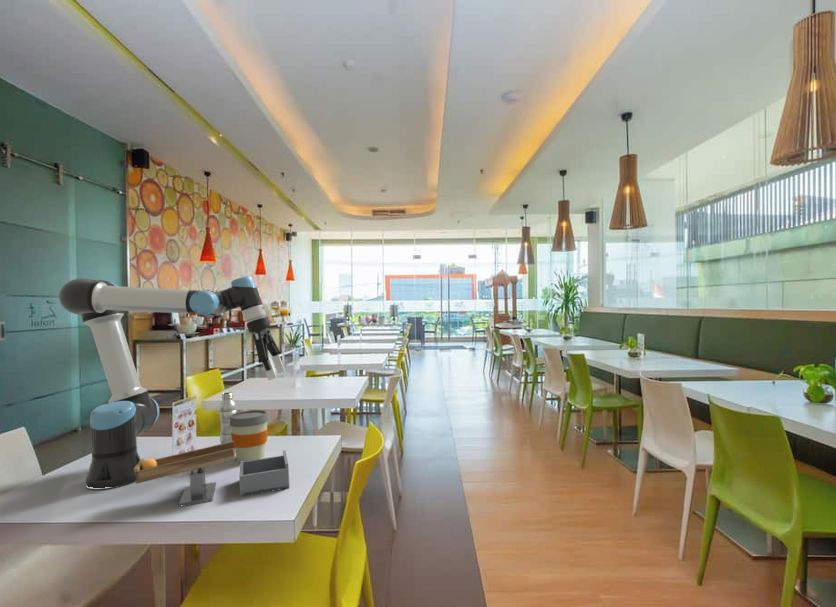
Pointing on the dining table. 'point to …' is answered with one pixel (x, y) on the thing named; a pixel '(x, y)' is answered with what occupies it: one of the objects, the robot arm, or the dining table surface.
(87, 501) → the dining table surface
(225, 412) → the plastic bottle
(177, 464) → the chute
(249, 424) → the reusable coffee cup
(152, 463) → the ball
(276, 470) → the grey tray
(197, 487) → the stand
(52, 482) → the dining table surface
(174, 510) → the dining table surface
